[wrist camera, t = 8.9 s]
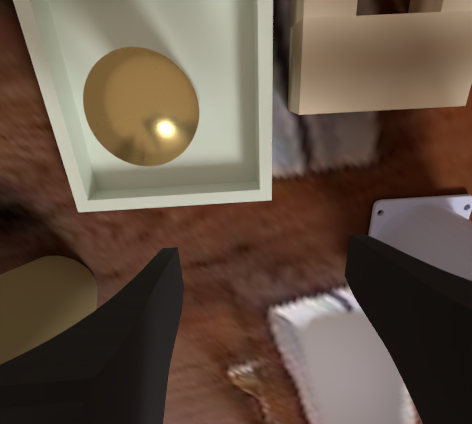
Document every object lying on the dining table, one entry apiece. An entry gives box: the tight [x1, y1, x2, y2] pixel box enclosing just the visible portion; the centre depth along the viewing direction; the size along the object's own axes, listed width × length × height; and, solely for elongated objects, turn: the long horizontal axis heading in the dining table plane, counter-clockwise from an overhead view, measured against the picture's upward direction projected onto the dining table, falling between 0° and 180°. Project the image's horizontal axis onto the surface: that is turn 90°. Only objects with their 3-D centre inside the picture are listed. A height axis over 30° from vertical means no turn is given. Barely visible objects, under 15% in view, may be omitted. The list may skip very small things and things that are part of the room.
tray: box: [13, 0, 273, 212], centre depth 17 cm, size 13×13×2 cm
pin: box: [83, 47, 200, 166], centre depth 14 cm, size 4×4×9 cm
